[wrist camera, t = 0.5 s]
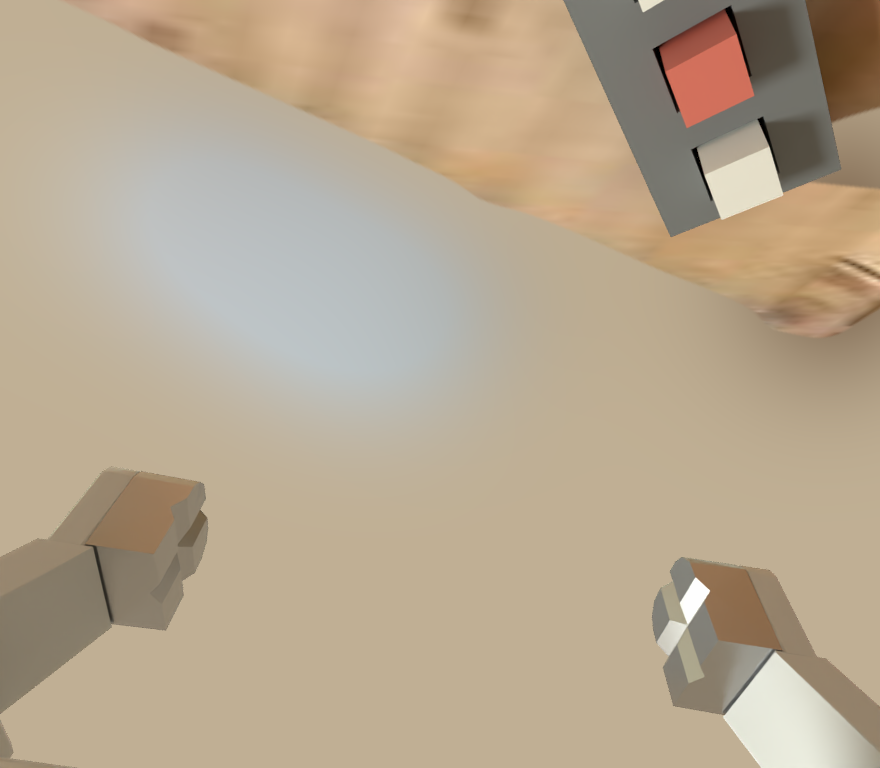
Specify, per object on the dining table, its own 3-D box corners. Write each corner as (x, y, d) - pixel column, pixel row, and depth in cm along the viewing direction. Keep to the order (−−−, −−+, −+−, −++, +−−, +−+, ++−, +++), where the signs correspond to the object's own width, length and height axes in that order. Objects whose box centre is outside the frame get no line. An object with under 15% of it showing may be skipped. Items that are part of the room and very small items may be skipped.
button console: (738, -239, 35) (755, -231, 32) (823, 137, 50) (841, 169, 47) (535, -88, 41) (532, -69, 38) (664, 205, 56) (670, 237, 53)
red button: (722, 6, 41) (736, 33, 38) (740, 65, 44) (754, 95, 40) (658, 42, 43) (665, 71, 40) (678, 96, 46) (686, 128, 42)
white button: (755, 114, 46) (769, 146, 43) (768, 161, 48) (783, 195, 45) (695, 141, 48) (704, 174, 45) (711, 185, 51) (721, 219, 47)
